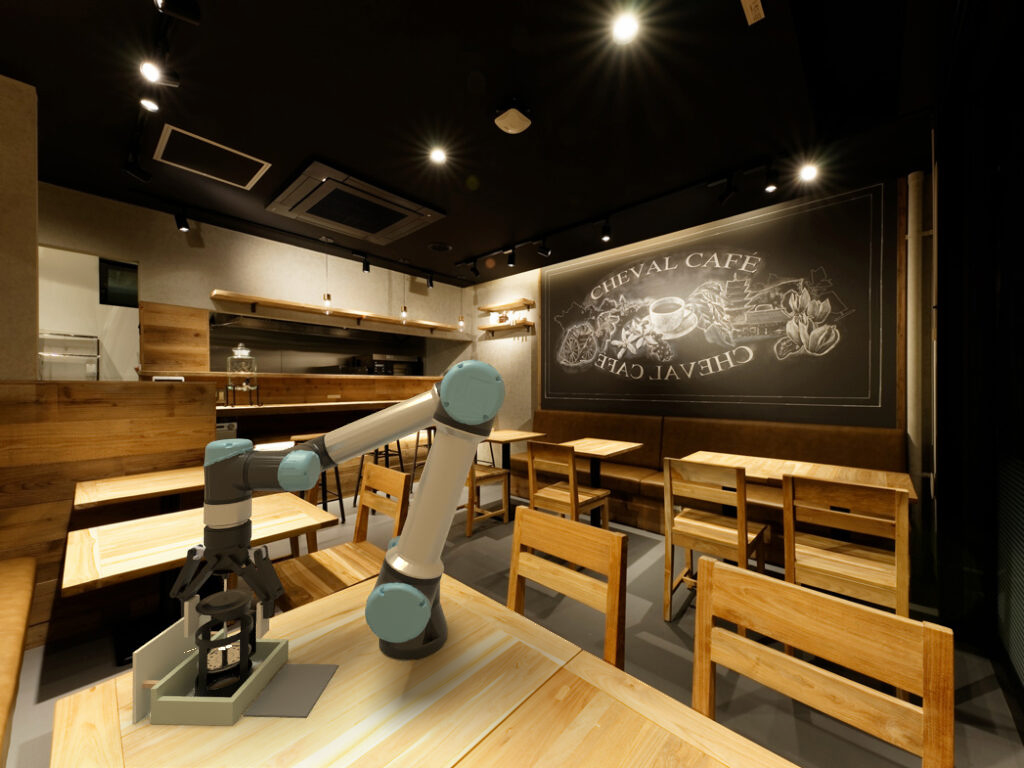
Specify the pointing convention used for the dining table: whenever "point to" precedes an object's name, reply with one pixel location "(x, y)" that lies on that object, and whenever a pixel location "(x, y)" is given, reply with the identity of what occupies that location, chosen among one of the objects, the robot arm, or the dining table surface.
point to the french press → (225, 640)
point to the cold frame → (173, 672)
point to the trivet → (292, 691)
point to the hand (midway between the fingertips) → (227, 633)
